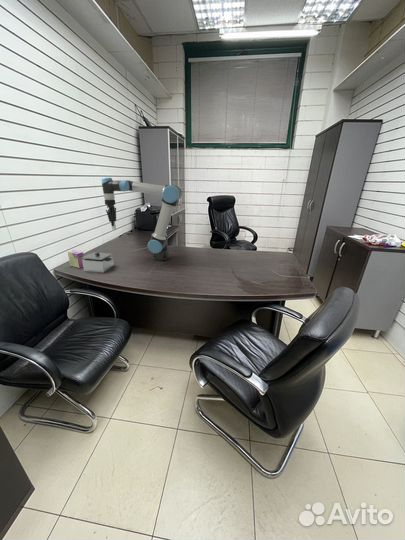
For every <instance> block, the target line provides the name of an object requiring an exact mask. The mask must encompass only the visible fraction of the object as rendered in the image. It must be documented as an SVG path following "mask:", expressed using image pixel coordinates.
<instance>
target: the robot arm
mask: <svg viewBox="0 0 405 540" xmlns="http://www.w3.org/2000/svg"><path fill="white" fill-rule="evenodd" d="M100 181H101V188H102V192H103V197H104V198H103V199H104V204H105V206H106V209H105V212H106V214H107V215H106V216H107V218H108V221H109V223H110V224H111V230H112V231H116V230H117V225H116V222H117V207H115V205H116V200H115V199H116V198H115V192H129V191H130V192H136V193H142V194H149V195H156V196H161V204H162V206H161V208H160V211H159V216H158V219H157V222H156V226H155V229H154V232H153V233H151V236H150V240H149V241H148V243H147V249H148V251H150V252H151V253H152V259H153V260H154V261H156V260H157V261H158V262H164V261H163V260H166V261H168V260H167V259H169V258H171V255H170V252H169V249H168V241H169V240H168V234H167V231H168V227H169V223H170V220H171V218H172V213H173V210H174V209H175V208H176V207H177V204H178V201H179V200H180V199H181V197H182V193H183V192H182V189H181V187H180V186H178V185H176V184H170V185H169V184H165V185H161V184H152V183H147V182H138V181H132V180H127V179H126V180H124V179H123V180H113V178H112V177H102V178H101V179H100ZM169 260H170V259H169Z"/></svg>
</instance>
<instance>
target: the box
mask: <svg viewBox="0 0 405 540" xmlns="http://www.w3.org/2000/svg"><path fill="white" fill-rule="evenodd" d="M67 254H68V255H67V256H68V261H69V265H70V266H71V267H74V268H76V269H77V268H78V269H81V268H83V263H82V260H83V258H82V257H83V256H85V255H84V252H83V251H78V250H76V249H75V250H74V249H73V250H70V251H67Z"/></svg>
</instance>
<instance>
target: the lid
mask: <svg viewBox="0 0 405 540" xmlns="http://www.w3.org/2000/svg"><path fill="white" fill-rule="evenodd" d="M111 255H113V253H107V252H94V251H93V252H91V253H88V254H86V255H84V256H83V257H82V258H83V259H95V260H103V259H105V258H107V257H109V256H111Z"/></svg>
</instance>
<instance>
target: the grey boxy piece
mask: <svg viewBox="0 0 405 540" xmlns="http://www.w3.org/2000/svg"><path fill="white" fill-rule="evenodd" d="M113 255H114V254H112V255H111V256H109V257H107V258H105V259H103V260H95V259H83V260H82V263H83V267H82V268H83V271H84V272H90V273H91V272H92V273H100V274H101V273H102V274H103V273H106V272H107V271H108V270H110V269H111V268H113V267H114V266H115V264H114V262H115V261H114V256H113Z"/></svg>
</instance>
